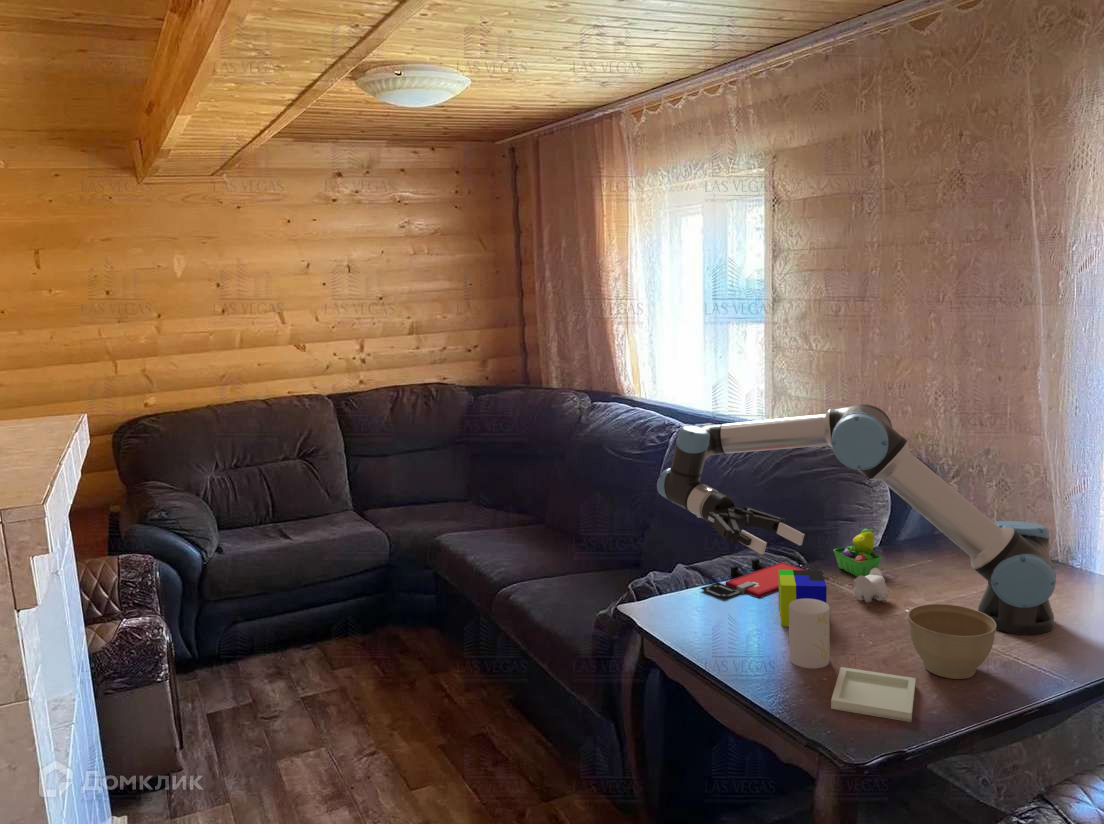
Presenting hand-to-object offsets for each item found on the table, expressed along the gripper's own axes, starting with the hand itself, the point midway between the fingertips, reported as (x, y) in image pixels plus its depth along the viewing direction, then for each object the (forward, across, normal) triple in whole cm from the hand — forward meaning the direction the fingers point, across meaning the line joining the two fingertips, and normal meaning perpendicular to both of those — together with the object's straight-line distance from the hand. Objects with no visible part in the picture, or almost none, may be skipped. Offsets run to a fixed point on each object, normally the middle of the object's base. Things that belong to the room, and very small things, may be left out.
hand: (783, 544), depth 186 cm
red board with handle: (-21, -26, -26) cm, 43 cm away
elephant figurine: (+5, -36, -18) cm, 41 cm away
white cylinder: (+14, +1, -21) cm, 25 cm away
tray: (+31, +6, -17) cm, 36 cm away
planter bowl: (+35, -15, -14) cm, 41 cm away
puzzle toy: (0, -16, -22) cm, 27 cm away
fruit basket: (-8, -51, -20) cm, 55 cm away
